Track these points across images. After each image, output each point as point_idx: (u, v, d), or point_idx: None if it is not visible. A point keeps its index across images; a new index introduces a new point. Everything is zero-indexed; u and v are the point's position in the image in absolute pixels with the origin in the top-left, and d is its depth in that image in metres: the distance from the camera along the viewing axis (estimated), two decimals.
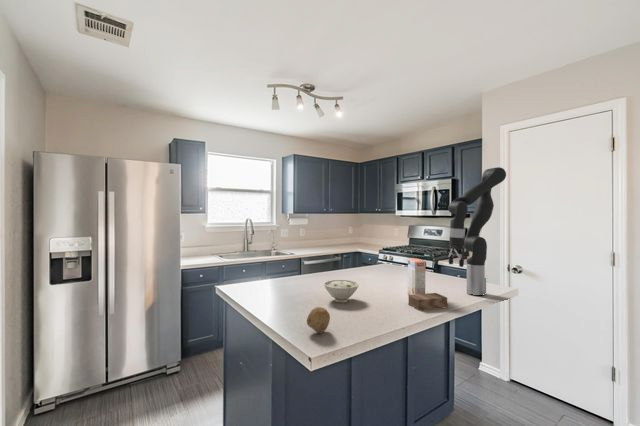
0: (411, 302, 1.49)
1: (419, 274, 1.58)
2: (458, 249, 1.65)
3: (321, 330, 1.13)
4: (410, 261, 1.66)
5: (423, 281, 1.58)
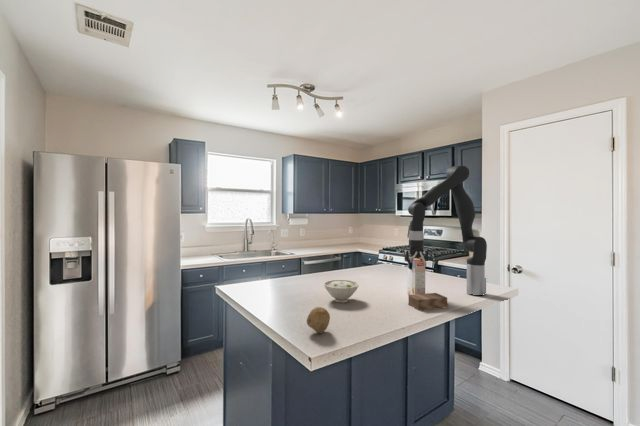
0: (411, 302, 1.49)
1: (419, 274, 1.58)
2: (422, 251, 1.64)
3: (321, 330, 1.13)
4: None
5: (423, 281, 1.58)
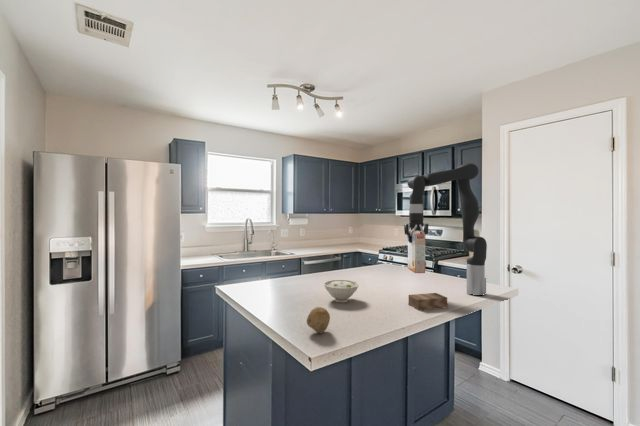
0: (411, 302, 1.49)
1: (419, 246, 1.58)
2: (422, 225, 1.64)
3: (321, 330, 1.13)
4: None
5: (423, 253, 1.58)
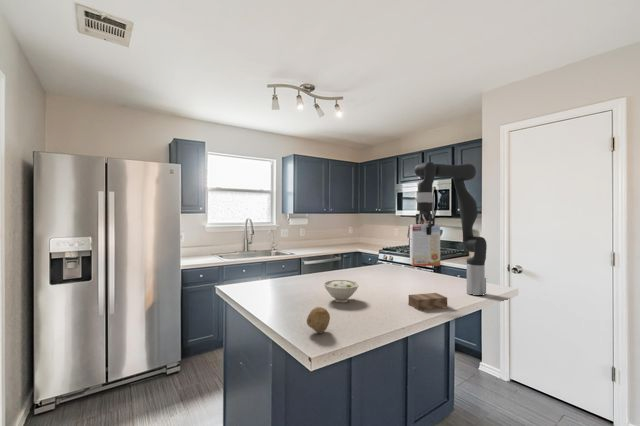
0: (411, 302, 1.49)
1: None
2: None
3: (321, 330, 1.13)
4: (423, 226, 1.49)
5: None
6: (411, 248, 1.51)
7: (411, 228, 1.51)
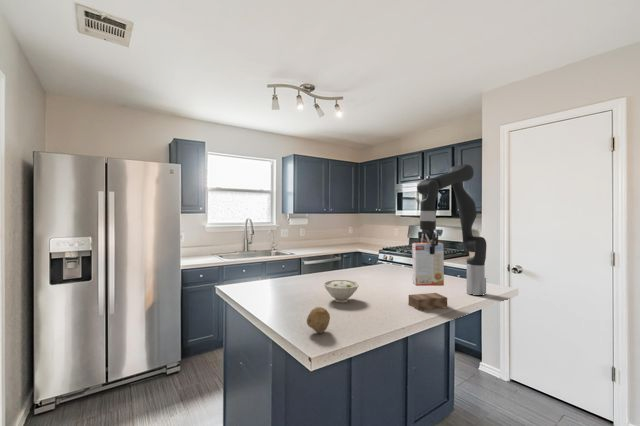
0: (411, 302, 1.49)
1: None
2: None
3: (321, 330, 1.13)
4: (426, 246, 1.46)
5: None
6: (414, 267, 1.48)
7: (414, 247, 1.49)
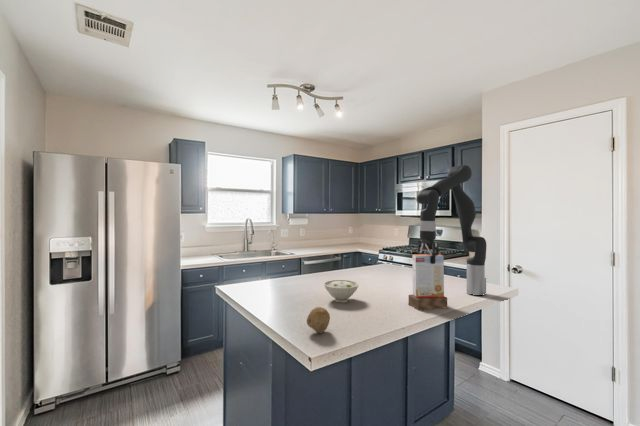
0: (411, 302, 1.49)
1: None
2: None
3: (321, 330, 1.13)
4: (426, 257, 1.46)
5: None
6: (414, 279, 1.48)
7: (414, 259, 1.48)
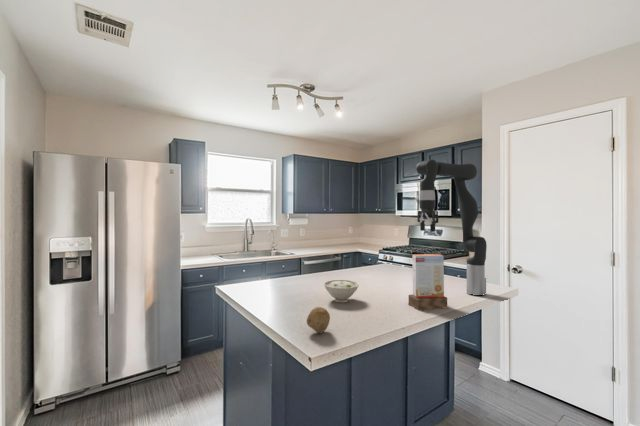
0: (411, 302, 1.49)
1: None
2: None
3: (321, 330, 1.13)
4: (426, 257, 1.46)
5: None
6: (414, 279, 1.48)
7: (414, 259, 1.48)
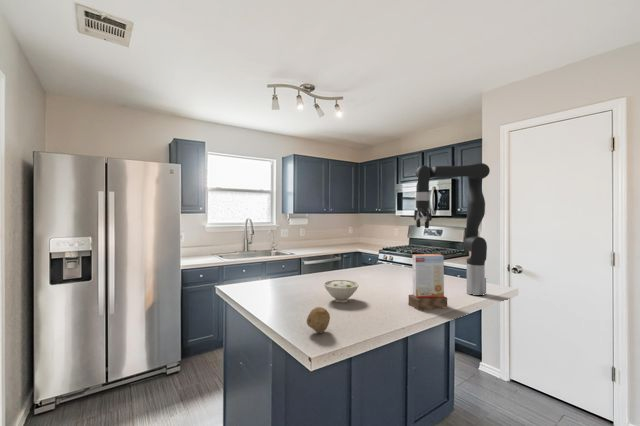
0: (411, 302, 1.49)
1: None
2: None
3: (321, 330, 1.13)
4: (426, 257, 1.46)
5: None
6: (414, 279, 1.48)
7: (414, 259, 1.48)
